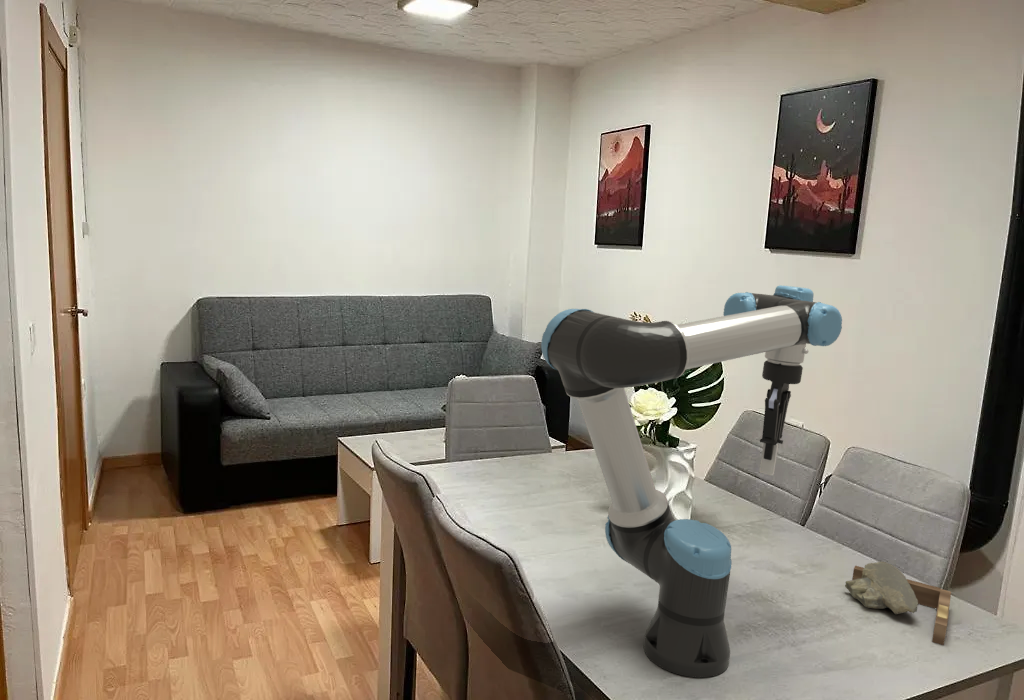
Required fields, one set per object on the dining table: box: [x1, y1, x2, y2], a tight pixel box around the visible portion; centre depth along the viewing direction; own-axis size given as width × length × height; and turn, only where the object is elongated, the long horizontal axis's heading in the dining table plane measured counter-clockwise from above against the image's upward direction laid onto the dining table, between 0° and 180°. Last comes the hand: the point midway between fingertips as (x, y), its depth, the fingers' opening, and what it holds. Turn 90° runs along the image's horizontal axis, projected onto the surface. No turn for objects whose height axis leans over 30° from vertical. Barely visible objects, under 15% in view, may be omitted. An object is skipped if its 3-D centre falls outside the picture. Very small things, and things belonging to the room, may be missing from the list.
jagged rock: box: [844, 560, 919, 615], centre depth 162 cm, size 14×10×10 cm
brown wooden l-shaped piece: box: [851, 565, 952, 646], centre depth 161 cm, size 18×19×4 cm
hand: (766, 473), depth 160 cm, fingers closed
